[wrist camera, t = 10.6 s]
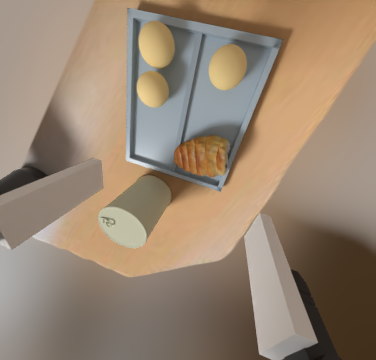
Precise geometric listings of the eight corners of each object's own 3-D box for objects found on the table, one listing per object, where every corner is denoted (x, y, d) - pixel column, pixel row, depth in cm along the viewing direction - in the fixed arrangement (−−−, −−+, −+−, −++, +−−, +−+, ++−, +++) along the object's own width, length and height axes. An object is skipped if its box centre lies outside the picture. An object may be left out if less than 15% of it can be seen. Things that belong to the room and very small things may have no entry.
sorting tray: (130, 157, 32) (125, 160, 30) (134, 14, 21) (127, 7, 19) (221, 187, 29) (220, 191, 28) (279, 44, 18) (283, 39, 17)
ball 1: (147, 67, 23) (130, 59, 19) (150, 26, 20) (131, 8, 16) (176, 74, 22) (164, 68, 18) (182, 33, 20) (170, 16, 16)
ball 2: (145, 103, 25) (129, 103, 21) (147, 70, 23) (130, 63, 19) (170, 110, 25) (159, 111, 21) (175, 77, 22) (163, 72, 18)
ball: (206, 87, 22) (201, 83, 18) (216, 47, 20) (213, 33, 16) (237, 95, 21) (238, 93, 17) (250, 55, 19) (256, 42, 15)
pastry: (178, 171, 29) (171, 179, 25) (174, 135, 26) (165, 139, 22) (229, 172, 26) (228, 182, 23) (230, 132, 23) (229, 137, 20)
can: (138, 168, 32) (95, 198, 22) (176, 185, 32) (151, 225, 22) (132, 199, 37) (94, 236, 27) (165, 214, 37) (140, 258, 26)
